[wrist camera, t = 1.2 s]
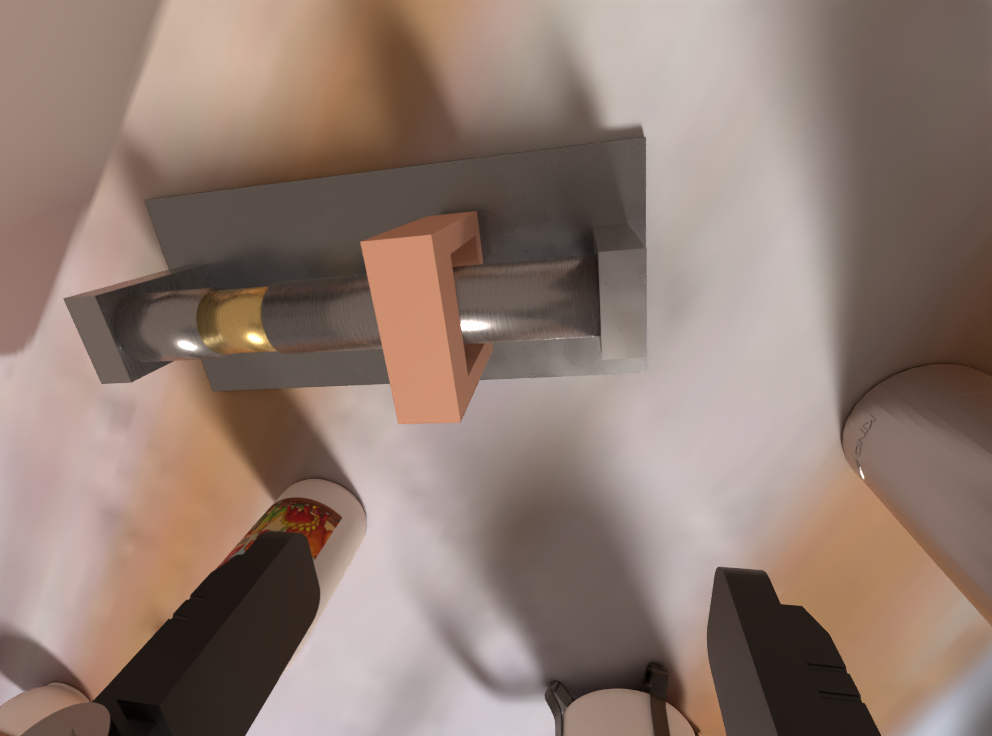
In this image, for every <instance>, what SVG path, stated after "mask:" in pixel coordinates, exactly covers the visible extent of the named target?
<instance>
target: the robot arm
mask: <svg viewBox="0 0 992 736" xmlns="http://www.w3.org/2000/svg"><path fill="white" fill-rule="evenodd" d="M843 449H844V453H845V457H846V459H847V461H848V462H849V464H850V466H851V467H852V469H853V470H854V471H855V472H856V473H857V474H858V476H859V477H860V478H861V479H862V480H863V481H864V482H865V484H866V485H867V486H868V487H869V488H870V489H871V490H872V491H873V493H874V494H875V495H876V496H877V497H878V498H879V499H880V500H881V502H882V503H883V504H884V505H885V506H886V508H887V509H888V510H889V511H890V512H891V513H892V514H893V516H894V517H895V518H896V519H897V520H898V521H899V522H900V523H901V525H902V526H903V527H904V528H905V529H906V530H907V531H908V533H909V534H910V535H911V536H912V537H913V538H914V539H915V540H916V542H917V543H918V544H919V545H920V546H921V547H922V548H923V549H924V551H925V552H926V553H927V554H928V555H929V556H930V557H931V559H932V560H933V561H934V562H935V563H936V564H937V565H938V566H939V568H940V569H941V570H942V571H943V572H944V573H945V574H946V576H947V577H948V578H949V579H950V580H951V581H952V582H953V583H954V585H955V586H956V587H957V588H958V589H959V590H960V591H961V592H962V594H963V595H964V596H965V597H966V598H967V599H968V600H969V602H970V603H971V604H972V605H973V606H974V607H975V608H976V609H977V611H978V612H979V613H980V614H981V615H982V616H983V617H984V618H985V620H986V621H987V622H988V623H989V624H990V625H991V626H992V376H990V375H988V374H986V373H984V372H982V371H979V370H976V369H973V368H971V367H968V366H962V365H955V364H931V365H926V366H921V367H916V368H912V369H909V370H906V371H904V372H901V373H898V374H896V375H894V376H892V377H890V378H888V379H886V380H885V381H883V382H881V383H879V384H878V385H877V386H875V387H874V388H873V389H872V390H870V391H869V392H868V393H866V394H865V395H864V397H863V398H862V399H861V400H860V401H859V402H858V403H857V404H856V406H855V407H854V408H853V410H852V412H851V414H850V415H849V417H848V419H847V421H846V425H845V428H844V431H843ZM319 603H320V586H319V582H318V578H317V574H316V570H315V566H314V562H313V558H312V554H311V550H310V546H309V542H308V539H307V537H306V536H305V535H304V534H303V533H295V532H282V531H265V532H263V533H262V534H261V535H260V536H259V537H258V538H257V539H256V540H255V541H254V542H253V543H252V544H251V546H250V547H249V548H248V549H247V550H246V551H245V552H244V554H243V555H236V556H235V557H233V558H232V559H230V560H229V561H227V562H226V563H224V564H223V565H222V566H220V567H219V568H217V569H216V570H214V571H213V572H211V573H210V574H209V575H208V577H207V578H206V579H205V580H204V581H203V582H202V583H201V584H200V585H199V586H198V587H197V589H196V590H195V591H194V592H193V593H192V594H191V595H190V599H189V600H186V601H185V602H184V603H183V604H182V605H181V606H180V607H179V608H178V609H177V610H176V611H175V613H174V614H173V618H172V619H168V620H167V621H166V622H165V623H164V625H163V626H162V627H161V628H160V629H159V630H158V631H157V632H156V633H155V634H154V636H153V637H152V638H151V639H150V640H149V641H148V642H147V643H146V644H145V645H144V646H143V648H142V649H141V650H140V651H139V652H138V653H137V654H136V655H135V656H134V657H133V658H132V660H131V661H130V662H129V663H128V664H127V665H126V666H125V667H124V668H123V669H122V670H121V672H120V673H119V674H118V675H117V676H116V677H115V678H114V679H113V680H112V681H111V682H110V684H109V685H108V686H107V687H106V688H105V689H104V690H103V691H102V692H101V693H100V694H99V695H98V696H97V697H96V698H95V699H94V700H93V701H92V702H87V703H79V704H75V705H71V706H69V707H66V708H63V709H61V710H59V711H57V712H54V713H52V714H51V715H49V716H47V717H45V718H44V719H42V720H40V721H39V722H37V723H36V724H34V725H33V726H32V727H30V728H29V729H28V730H27V731H25V732H24V733H23V734H22V735H20V736H245V735H246V733H247V732H248V730H249V728H250V727H251V725H252V723H253V722H254V720H255V718H256V717H257V715H258V713H259V712H260V710H261V708H262V707H263V705H264V703H265V702H266V700H267V698H268V697H269V695H270V693H271V692H272V690H273V688H274V686H275V685H276V683H277V681H278V680H279V678H280V676H281V675H282V673H283V671H284V670H285V668H286V666H287V665H288V663H289V661H290V660H291V658H292V656H293V655H294V653H295V651H296V650H297V648H298V646H299V645H300V643H301V641H302V640H303V638H304V636H305V635H306V633H307V631H308V629H309V628H310V626H311V624H312V623H313V621H314V619H315V617H316V614H317V611H318V608H319ZM707 648H708V657H709V663H710V668H711V672H712V677H713V681H714V685H715V689H716V693H717V697H718V701H719V706H720V710H721V714H722V718H723V722H724V726H725V730H726V735H727V736H881V734H880V732H879V730H878V728H877V726H876V725H875V723H874V721H873V719H872V717H871V715H870V713H869V711H868V709H867V707H866V705H865V703H862V701H861V695H860V693H859V691H858V689H857V687H856V685H855V683H854V681H853V679H852V678H851V676H850V674H847V671H846V666H845V664H844V662H843V660H842V658H841V656H840V654H839V652H838V650H837V648H836V646H835V644H834V642H833V640H832V638H831V636H830V634H829V633H828V632H827V631H826V630H825V629H824V628H823V627H822V626H821V625H820V624H819V623H818V622H817V621H816V620H815V619H814V618H813V617H812V616H811V615H810V614H809V613H808V612H807V611H806V610H805V609H804V608H803V607H802V606H795V605H783V604H780V601H779V599H778V597H777V595H776V592H775V590H774V588H773V585H772V583H771V581H770V579H769V577H768V575H767V573H766V572H765V571H763V570H753V569H740V568H727V567H718V568H717V569H716V572H715V577H714V584H713V591H712V598H711V605H710V612H709V619H708V626H707Z"/></svg>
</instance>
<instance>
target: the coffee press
mask: <svg viewBox="0 0 992 736" xmlns="http://www.w3.org/2000/svg"><path fill="white" fill-rule="evenodd" d="M667 683H668V671H667V669H665V668H663V667H660V666H657V665H655V664H652V663H649V664H648V666H647V668H646V672H645V677H644V681H643V684H642V687H641V689H640V691H636V690H630V689H604V690H599V691H594V692H591V693H588V694H586V695H584V696H582V697H580V698H578V699H577V700H575V699H574V698H573V697H572V696H571V695H570V694H569V692H568V691H567V690H566V688H565V687H564V685H563V684H562V683H561V682H559V681H552V682H551V684H550V685H549V687H548V688H547V690H546V692H545V699H546V701H547V703H548V705H549V707H550V709H551V711H552V713H553V716H554V719H555V736H699V735H698V734H696V733H694V731H693V729H692V727H691V726H690V724H689V723H688V721H687V720H686V719H685V717H684V716H683V715H682V714H681V713H680V712H679V711H678V710H677V709H675V708H674V707H673V706H671V705H670V704H668V703H667V702H666V691H667ZM552 691H554V692H556V693H557V695H558V696H559V697H560V699H561V700H562V702H563V703H564V704H565V706H566V707H567V708H566V710H565V711H564V713H563V714H562V711H561V708H560V705H559V703H558V701H557V699H556V697H555V696H554V694H553V692H552Z"/></svg>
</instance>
